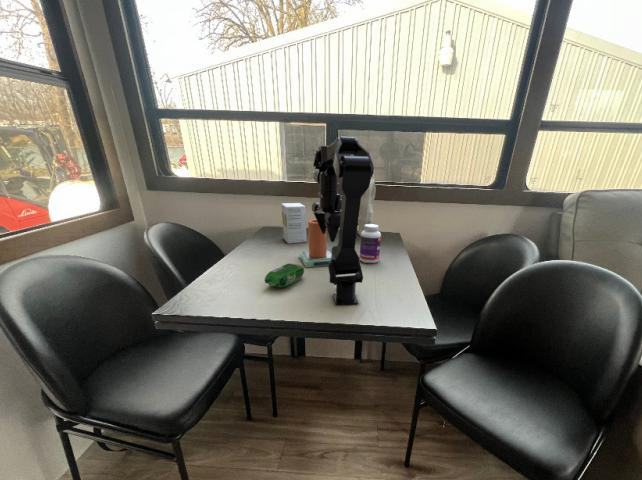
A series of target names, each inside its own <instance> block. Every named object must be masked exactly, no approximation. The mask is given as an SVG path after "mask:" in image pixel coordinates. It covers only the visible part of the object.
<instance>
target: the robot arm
mask: <svg viewBox="0 0 642 480" xmlns="http://www.w3.org/2000/svg"><path fill="white" fill-rule="evenodd" d="M374 166H375V165H374V162H373V159H372V157H371V155H370V152H369V151H368V150H367V149H366V148H364V147H363V146H362V144H360V142H359V139H358V138H357V137H355V136H347V135H339V136H337V137H336V138H335V140H334V141H333V142H332V143H330V144H329V145H319V146H318V148H317V149H316V151H315V153H314V156H313V160H312V167H313V168H314V173H313V179H314V182H315V183H317V185H319V191H318V192H317V196H318V197H319V201H315V202H313V203H312V204H311V211H312V214H313V215H314V218H315V219H316V220H317V222H318V224H319V227H320V229H321V232H322V234H325V233H326V228H327V235H328V238H329V240H330V242H331V243H334V242H335V241H336V237H337V235H338V242H337V243H338V244H337V245H333V246H332V248H331V254H332V256H331V259H330V261H329V264H328V266H327V267H328V274H329V283H330V284H333V286H335V293H333V299H334V302H335V305H337V306H341V305H357V304H358V303H359V301H358V299H357V295H356V288H357V287H356V285H357V284H358V283H359V284H360V283H363V280H364V275H363V271H362V265H361V260H360V255H358V253H357V251H356V241H357V234H358V227H359V226H358V220H359V210H360V203H361V197H362V196H363V194H364V193H365V192H366V190H367V189H368V188H369V185H370V181H371V177H372V176H373V175H374V170H375V169H374ZM339 188H340V191H342V194H341V195H340V194H339V193H338V192H339V191H338V189H339Z"/></svg>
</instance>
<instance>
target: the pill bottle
mask: <svg viewBox="0 0 642 480" xmlns="http://www.w3.org/2000/svg"><path fill="white" fill-rule="evenodd" d="M364 229H365V230H364V231H362V232H361V236H360V242H359V243H360V244H359V247H360V248H359V261H360V262H362V263H366V264H375V263H378V262H379V261H380V253H381V239H382V234H381V232H380V231H379V225H378V224H365V225H364Z"/></svg>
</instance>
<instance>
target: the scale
mask: <svg viewBox="0 0 642 480" xmlns="http://www.w3.org/2000/svg"><path fill="white" fill-rule="evenodd" d="M331 256H332V252H330V251H329V250H328V249H327V253H326V256H323V257H313V256H310V255H309V250H303V251H299V258H300V260H301V261H302V263H303V264H304V266H305V268H313V267H315V268H316V267H325V266H327V267H328V264H329V261H330V259H331Z"/></svg>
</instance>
